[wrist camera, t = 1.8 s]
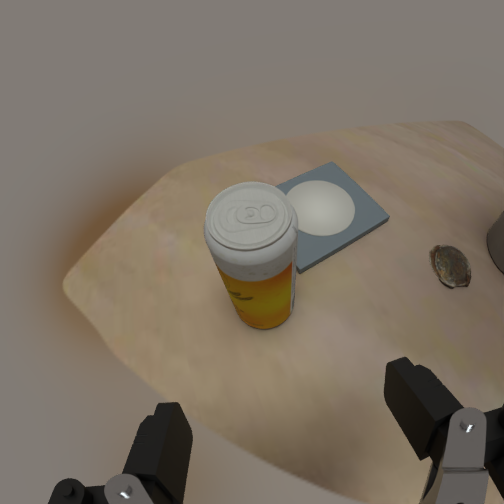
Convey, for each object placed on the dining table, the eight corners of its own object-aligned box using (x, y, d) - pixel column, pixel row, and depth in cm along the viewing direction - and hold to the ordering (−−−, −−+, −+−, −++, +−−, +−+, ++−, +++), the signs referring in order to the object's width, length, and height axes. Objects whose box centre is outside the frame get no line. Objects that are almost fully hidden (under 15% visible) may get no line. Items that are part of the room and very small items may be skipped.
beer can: (236, 279, 32) (204, 181, 19) (291, 276, 31) (293, 174, 19) (236, 332, 29) (194, 258, 16) (295, 329, 28) (304, 251, 15)
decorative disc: (460, 244, 31) (463, 240, 30) (473, 287, 28) (477, 283, 27) (423, 246, 31) (425, 242, 31) (435, 292, 28) (439, 289, 27)
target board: (331, 166, 40) (332, 160, 39) (387, 221, 34) (390, 215, 33) (248, 204, 37) (247, 198, 36) (299, 273, 31) (300, 268, 30)
